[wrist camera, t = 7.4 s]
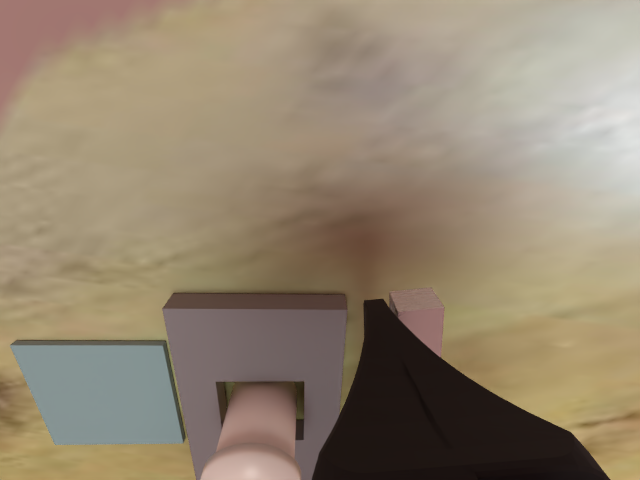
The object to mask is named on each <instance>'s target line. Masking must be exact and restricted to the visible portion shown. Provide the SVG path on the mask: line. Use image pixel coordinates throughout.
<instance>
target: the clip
mask: <svg viewBox="0 0 640 480" xmlns="http://www.w3.org/2000/svg"><path fill="white" fill-rule="evenodd" d="M389 306H390V309H391V310H392V312H393V313H394V314H395V315H396V316H397V317H398V318H399V319H400V320H401V321H402V323H403V324H404V325H405V326H406V327H407V328H408V329H409V330H410V331H411V332H412V333H413V334H414V335H415V336H416V337H418V338H419V339H420V340H421V341H422V342H423V343H424V344H425V345H426V346H427V347H429V348H430V349H431V350H432V351H433V352H434V353H436V354H437V355H438V356H439V357H440V358H441V347H442V333H443V320H444V306H443V304H442V303H441V301H440V300H439V298H438V297H437V295H436V294H435V292H434V291H433V289H432V288H421V289H411V290H401V291H391V292H389Z"/></svg>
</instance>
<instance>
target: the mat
mask: <svg viewBox="0 0 640 480" xmlns="http://www.w3.org/2000/svg"><path fill="white" fill-rule="evenodd" d="M10 347H11V349H12V351H13V353H14V355H15V358H16V360H17V362H18V364H19V367H20V369H21V371H22V373H23V375H24V378H25V380H26V382H27V384H28V386H29V389H30V391H31V393H32V395H33V398H34V400H35V402H36V404H37V406H38V409H39V411H40V413H41V415H42V417H43V420H44V422H45V424H46V426H47V429H48V431H49V433H50V435H51V437H52V440H53V442H54V444H55V445H83V444H172V443H184V440H185V434H184V429H183V424H182V419H181V415H180V410H179V405H178V400H177V395H176V390H175V385H174V380H173V375H172V371H171V366H170V361H169V356H168V351H167V346H166V341H15V342H13V343H12V344H11V345H10Z"/></svg>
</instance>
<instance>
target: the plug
mask: <svg viewBox="0 0 640 480" xmlns="http://www.w3.org/2000/svg"><path fill="white" fill-rule="evenodd" d="M296 409H297V388H296V385H295V383H294V382H293V381H253V382H235V383H234V386H233V390H232V393H231V397H230V401H229V405H228V408H227V412H226V416H225V420H224V423H223V427H222V431H221V435H220V438H219V442H218V446H217V450H216V453H214V454H213V455H212V456H211V457H210V458H209V459H208V460H207V462H206V463H205V466H204V468H203V472H202V475H201V479H200V480H301V469H300V466H299V465H298V463H297V461H296V460H295V459H294V457H295V433H296Z"/></svg>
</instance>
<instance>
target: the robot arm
mask: <svg viewBox="0 0 640 480" xmlns="http://www.w3.org/2000/svg"><path fill="white" fill-rule="evenodd" d="M312 480H610V479H609V478H608V476H607V475H606V474H605V472H604V471H603V470H602V469H601V467H600V466H599V465H598V464H597V462H596V461H595V460H594V458H593V457H592V456H591V454H590V453H589V452H588V451H587V450H586V448H585V447H584V446H583V445H582V444H581V443H580V442H579V441H578V440H577V438H576V437H575V436H574V435H573V434H572V433H571V432H569V431H567V430H565V429H563V428H561V427H558V426H556V425H554V424H552V423H550V422H548V421H546V420H544V419H541V418H539V417H537V416H535V415H533V414H531V413H529V412H527V411H525V410H523V409H521V408H519V407H517V406H515V405H514V404H512V403H510V402H508V401H506V400H504V399H502V398H501V397H499V396H497V395H495V394H494V393H492V392H490V391H489V390H487V389H485V388H484V387H482V386H481V385H479V384H477V383H476V382H474V381H473V380H471V379H470V378H468V377H466V376H465V375H464V374H462V373H461V372H459V371H458V370H456V369H455V368H454V367H452V366H451V365H450V364H448V363H447V362H446V361H444V360H443V359H442V358H440V357H439V356H438V355H437V354H436V353H434V352H433V351H432V350H431V349H430V348H429V347H427V346H426V345H425V344H424V343H423V342H422V341H421V340H420V339H419V338H418V337H416V336H415V335H414V334H413V333H412V332H411V331H410V330H409V329H408V328H407V327H406V326H405V325H404V324H403V323H402V321H401V320H400V319H399V318H398V317H397V316H396V315H395V314H394V313H393V312H392V310H391V309H390V308H389V307H388V306H387V304H386V302H385V301H384V300H383V299H376V300H364V343H363V348H362V353H361V357H360V361H359V365H358V368H357V372H356V375H355V378H354V381H353V384H352V386H351V389H350V392H349V395H348V397H347V399H346V402H345V404H344V406H343V408H342V411H341V413H340V415H339V417H338V419H337V421H336V423H335V425H334V427H333V429H332V431H331V433H330V434H329V436H328V438H327V440H326V441H325V443H324V445H323V447H322V449H321V450H320V452H319V455H318V459H317V462H316V466H315V469H314V473H313V476H312Z"/></svg>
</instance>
